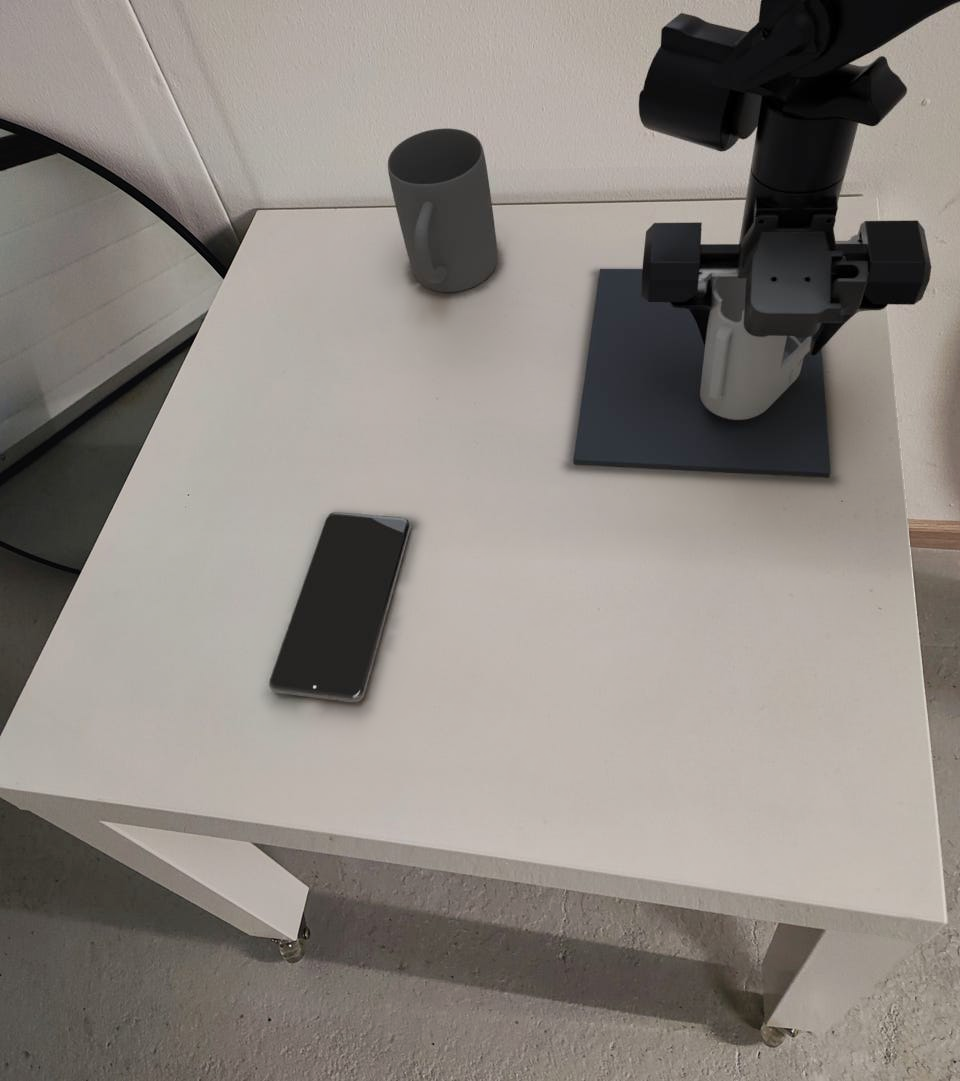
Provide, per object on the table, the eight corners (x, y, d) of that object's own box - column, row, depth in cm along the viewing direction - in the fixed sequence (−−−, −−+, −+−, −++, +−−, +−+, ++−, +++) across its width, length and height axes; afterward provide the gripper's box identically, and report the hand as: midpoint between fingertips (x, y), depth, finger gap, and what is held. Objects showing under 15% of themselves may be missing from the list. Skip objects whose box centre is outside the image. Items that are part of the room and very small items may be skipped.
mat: (814, 274, 76) (815, 269, 75) (829, 477, 63) (830, 472, 63) (599, 273, 80) (599, 268, 79) (573, 464, 67) (573, 459, 67)
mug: (422, 236, 87) (398, 128, 77) (505, 236, 85) (492, 125, 75) (392, 324, 80) (361, 218, 70) (482, 326, 78) (464, 217, 68)
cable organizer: (824, 358, 69) (857, 235, 59) (739, 446, 65) (760, 330, 55) (756, 328, 72) (777, 207, 62) (671, 410, 68) (679, 294, 58)
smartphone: (411, 516, 65) (360, 700, 56) (414, 524, 66) (364, 706, 57) (326, 510, 67) (264, 688, 58) (330, 517, 68) (269, 694, 59)
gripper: (639, 249, 49) (633, 422, 61) (981, 248, 45) (898, 433, 58) (650, 143, 54) (642, 321, 67) (953, 134, 51) (883, 325, 64)
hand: (760, 350), depth 64 cm, fingers closed on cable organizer, 7 cm apart
